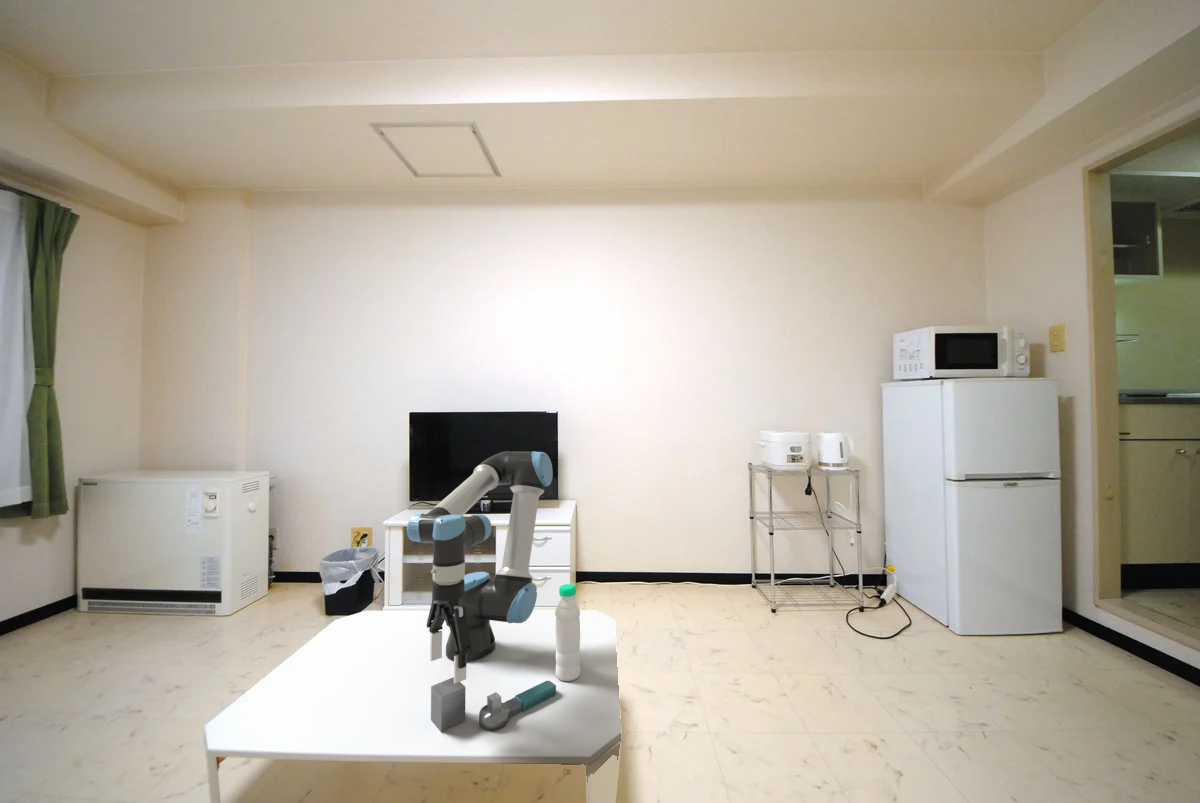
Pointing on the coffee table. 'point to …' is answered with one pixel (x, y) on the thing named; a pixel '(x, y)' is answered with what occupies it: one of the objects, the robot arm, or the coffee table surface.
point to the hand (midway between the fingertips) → (447, 669)
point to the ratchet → (513, 705)
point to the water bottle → (567, 635)
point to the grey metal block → (447, 704)
